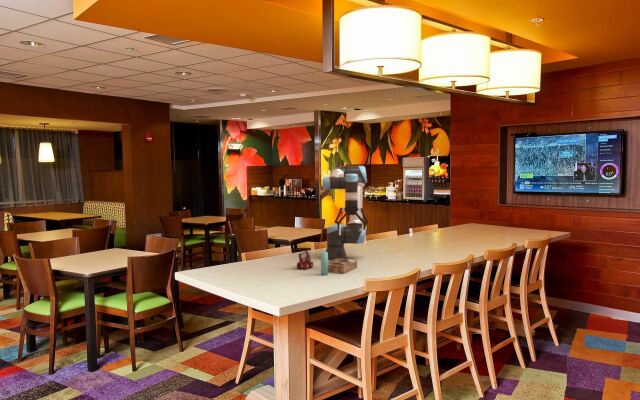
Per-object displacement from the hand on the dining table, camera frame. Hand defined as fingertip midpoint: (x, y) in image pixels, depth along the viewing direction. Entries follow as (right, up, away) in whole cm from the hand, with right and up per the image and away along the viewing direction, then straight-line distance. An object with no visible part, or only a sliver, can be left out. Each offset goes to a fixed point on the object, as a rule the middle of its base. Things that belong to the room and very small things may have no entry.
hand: (351, 235), depth 287 cm
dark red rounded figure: (-28, -21, +10) cm, 36 cm away
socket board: (-7, -21, +5) cm, 23 cm away
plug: (-16, -22, -9) cm, 29 cm away
